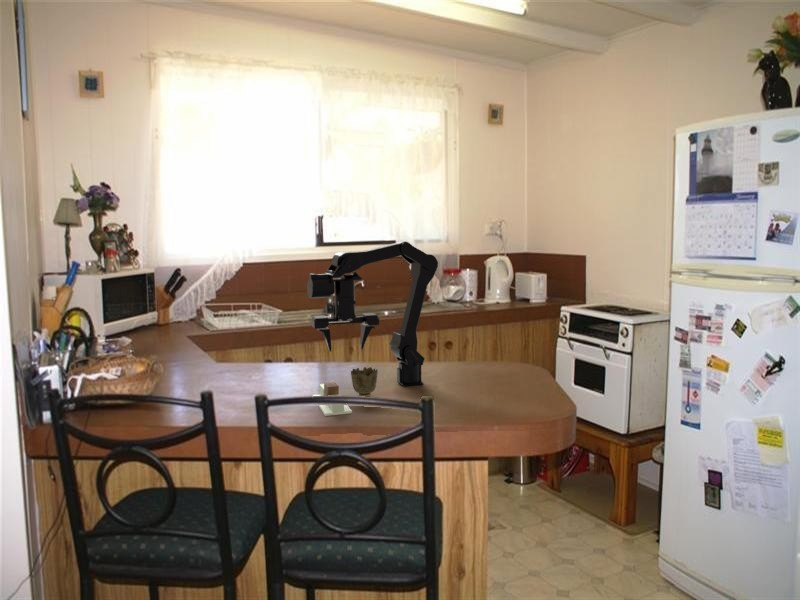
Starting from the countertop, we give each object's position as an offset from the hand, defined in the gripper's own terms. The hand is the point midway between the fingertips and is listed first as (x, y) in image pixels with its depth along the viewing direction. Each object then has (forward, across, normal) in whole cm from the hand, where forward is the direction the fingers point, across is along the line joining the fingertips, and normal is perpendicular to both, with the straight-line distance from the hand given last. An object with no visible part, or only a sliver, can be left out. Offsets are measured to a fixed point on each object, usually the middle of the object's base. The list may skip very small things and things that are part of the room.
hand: (345, 350), depth 182 cm
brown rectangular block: (+11, +7, +12) cm, 18 cm away
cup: (+12, -3, +9) cm, 15 cm away
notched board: (+12, +7, +12) cm, 18 cm away
